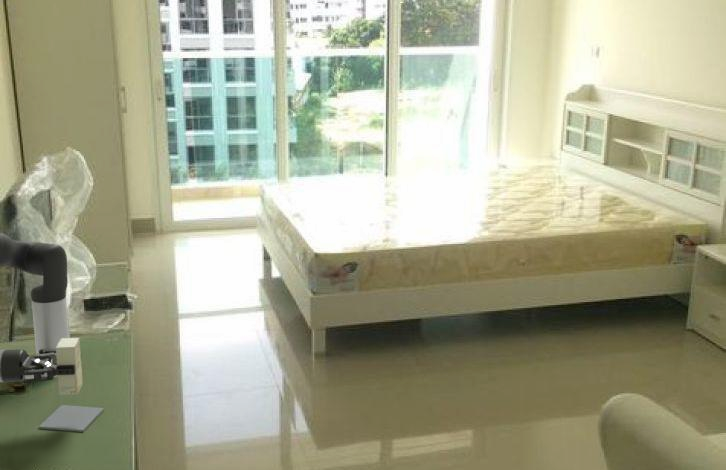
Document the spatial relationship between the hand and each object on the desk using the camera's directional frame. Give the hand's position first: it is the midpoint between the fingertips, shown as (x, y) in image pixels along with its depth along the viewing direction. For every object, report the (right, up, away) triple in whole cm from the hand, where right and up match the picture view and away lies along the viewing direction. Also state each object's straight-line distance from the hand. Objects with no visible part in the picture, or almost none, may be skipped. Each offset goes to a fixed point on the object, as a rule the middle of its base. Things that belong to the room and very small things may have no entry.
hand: (77, 363), depth 179 cm
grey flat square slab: (-3, -14, +3) cm, 15 cm away
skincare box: (-2, -7, +1) cm, 7 cm away
